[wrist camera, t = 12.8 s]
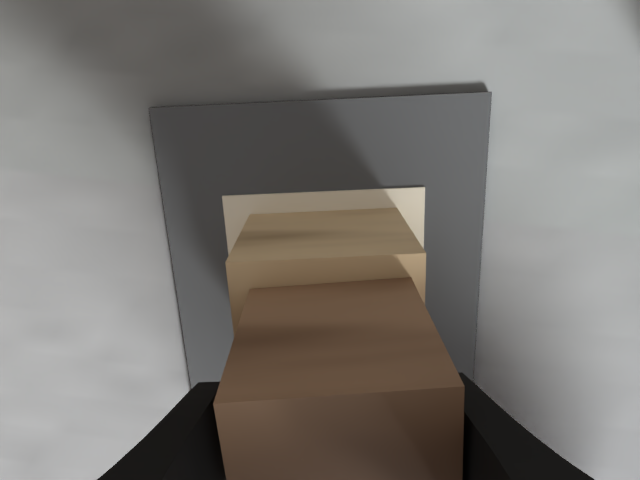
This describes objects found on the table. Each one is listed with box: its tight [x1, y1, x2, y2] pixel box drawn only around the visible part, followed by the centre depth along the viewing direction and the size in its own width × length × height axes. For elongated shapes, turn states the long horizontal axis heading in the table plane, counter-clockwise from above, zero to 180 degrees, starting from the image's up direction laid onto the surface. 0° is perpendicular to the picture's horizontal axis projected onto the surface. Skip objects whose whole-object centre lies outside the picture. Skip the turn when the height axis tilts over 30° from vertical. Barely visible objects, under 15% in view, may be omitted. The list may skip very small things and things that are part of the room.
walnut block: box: [213, 277, 465, 480], centre depth 12 cm, size 4×4×5 cm
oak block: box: [225, 208, 426, 336], centre depth 16 cm, size 6×6×5 cm
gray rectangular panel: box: [149, 92, 492, 389], centre depth 19 cm, size 14×12×1 cm
